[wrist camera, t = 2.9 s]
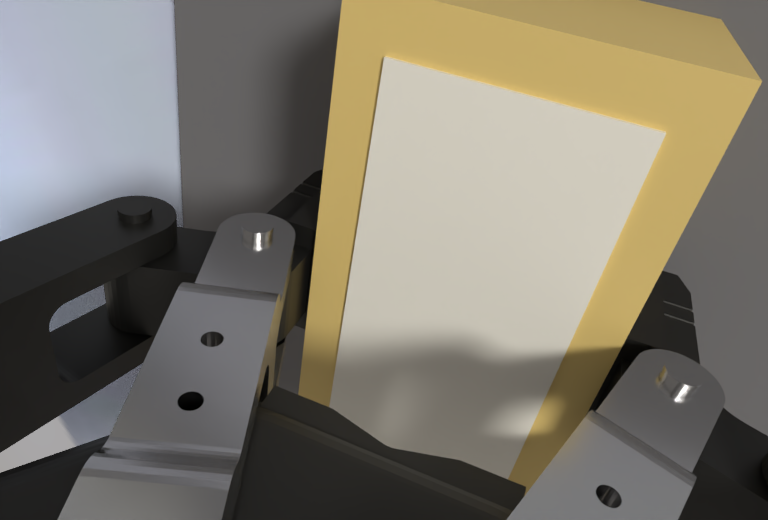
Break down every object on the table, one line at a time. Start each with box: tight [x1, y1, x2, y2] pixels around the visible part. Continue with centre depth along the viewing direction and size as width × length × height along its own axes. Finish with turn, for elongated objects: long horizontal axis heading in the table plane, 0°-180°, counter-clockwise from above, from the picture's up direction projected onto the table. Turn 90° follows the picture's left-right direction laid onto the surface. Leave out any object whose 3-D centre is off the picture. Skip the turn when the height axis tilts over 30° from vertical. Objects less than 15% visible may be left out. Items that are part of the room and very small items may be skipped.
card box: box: [298, 0, 762, 495], centre depth 11 cm, size 10×5×4 cm, turn 171°
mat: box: [174, 0, 768, 436], centre depth 17 cm, size 28×16×2 cm, turn 171°
